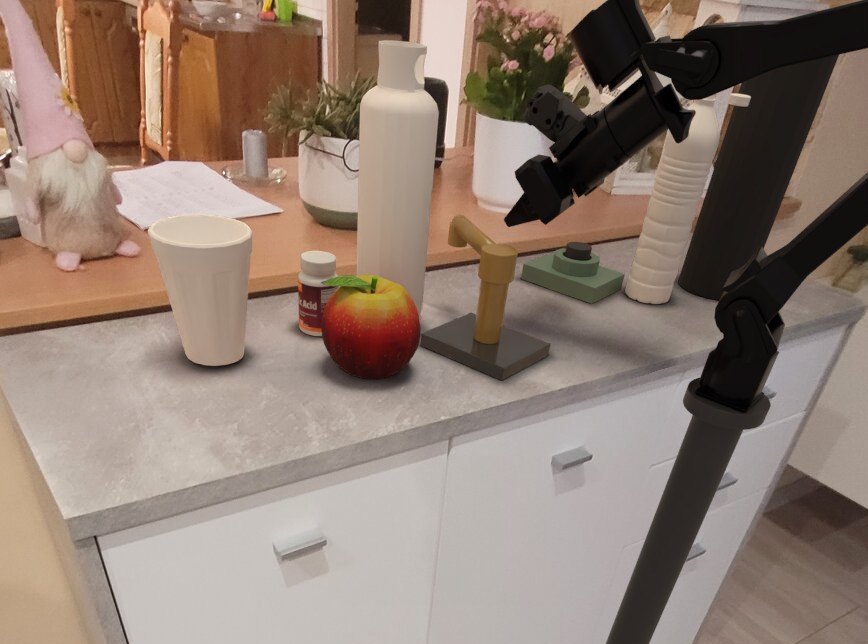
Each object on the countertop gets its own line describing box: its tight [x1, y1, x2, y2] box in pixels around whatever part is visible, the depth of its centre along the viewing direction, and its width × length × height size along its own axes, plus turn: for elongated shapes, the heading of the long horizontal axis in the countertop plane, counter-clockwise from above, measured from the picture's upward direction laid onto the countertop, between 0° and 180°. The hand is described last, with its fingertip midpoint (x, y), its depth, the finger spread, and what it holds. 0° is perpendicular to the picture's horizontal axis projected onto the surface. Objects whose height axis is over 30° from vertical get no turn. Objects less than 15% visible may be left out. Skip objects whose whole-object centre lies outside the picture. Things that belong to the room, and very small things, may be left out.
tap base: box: [419, 279, 552, 381], centre depth 83 cm, size 12×10×8 cm
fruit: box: [321, 274, 422, 380], centre depth 77 cm, size 11×11×10 cm
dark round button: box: [564, 241, 593, 261], centre depth 103 cm, size 4×4×2 cm
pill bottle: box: [297, 250, 340, 337], centre depth 84 cm, size 5×5×8 cm
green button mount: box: [520, 247, 626, 304], centre depth 104 cm, size 12×9×4 cm
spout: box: [447, 214, 519, 284], centre depth 84 cm, size 16×4×3 cm, turn 18°
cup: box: [147, 213, 254, 367], centre depth 75 cm, size 10×10×13 cm
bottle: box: [355, 39, 440, 331], centre depth 79 cm, size 8×8×28 cm
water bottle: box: [624, 92, 751, 305], centre depth 96 cm, size 9×6×25 cm
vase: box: [677, 54, 840, 301], centre depth 99 cm, size 10×10×30 cm
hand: (506, 222), depth 87 cm, fingers closed
